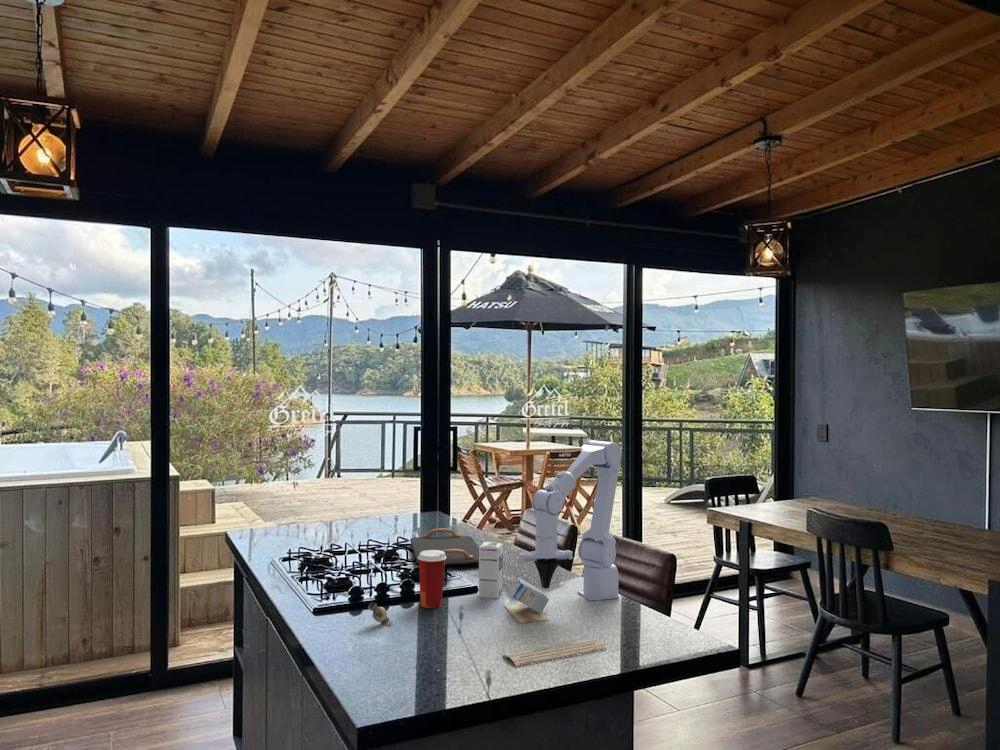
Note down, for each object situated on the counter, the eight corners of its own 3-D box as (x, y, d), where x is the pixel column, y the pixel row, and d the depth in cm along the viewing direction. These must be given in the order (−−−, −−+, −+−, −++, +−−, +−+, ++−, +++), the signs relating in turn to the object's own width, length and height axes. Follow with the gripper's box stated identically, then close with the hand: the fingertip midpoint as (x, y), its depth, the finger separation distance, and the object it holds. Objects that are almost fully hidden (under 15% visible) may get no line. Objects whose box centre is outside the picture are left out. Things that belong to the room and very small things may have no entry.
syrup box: (498, 599, 197) (499, 547, 197) (477, 597, 198) (479, 545, 198) (502, 593, 203) (503, 542, 203) (482, 591, 204) (483, 541, 204)
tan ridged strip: (515, 670, 151) (515, 662, 151) (500, 658, 158) (500, 650, 158) (606, 653, 162) (606, 645, 162) (588, 642, 168) (588, 634, 168)
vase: (372, 631, 171) (371, 605, 171) (364, 625, 176) (364, 601, 176) (393, 627, 174) (392, 602, 174) (385, 622, 178) (385, 597, 179)
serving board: (489, 570, 228) (489, 551, 228) (416, 573, 223) (417, 553, 223) (470, 542, 266) (470, 525, 266) (408, 543, 261) (408, 526, 261)
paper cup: (450, 602, 193) (451, 551, 193) (436, 611, 186) (437, 557, 186) (425, 598, 196) (426, 548, 196) (411, 606, 189) (412, 554, 189)
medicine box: (536, 606, 191) (508, 590, 191) (544, 592, 192) (517, 576, 191) (541, 614, 184) (512, 598, 183) (549, 599, 184) (521, 582, 184)
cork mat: (530, 604, 193) (530, 603, 193) (548, 620, 181) (548, 619, 181) (504, 606, 191) (504, 605, 191) (520, 623, 178) (520, 621, 178)
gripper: (565, 531, 193) (564, 581, 193) (515, 534, 189) (514, 584, 189) (576, 537, 187) (575, 588, 187) (524, 540, 182) (523, 592, 182)
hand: (545, 587), depth 187 cm, fingers closed
